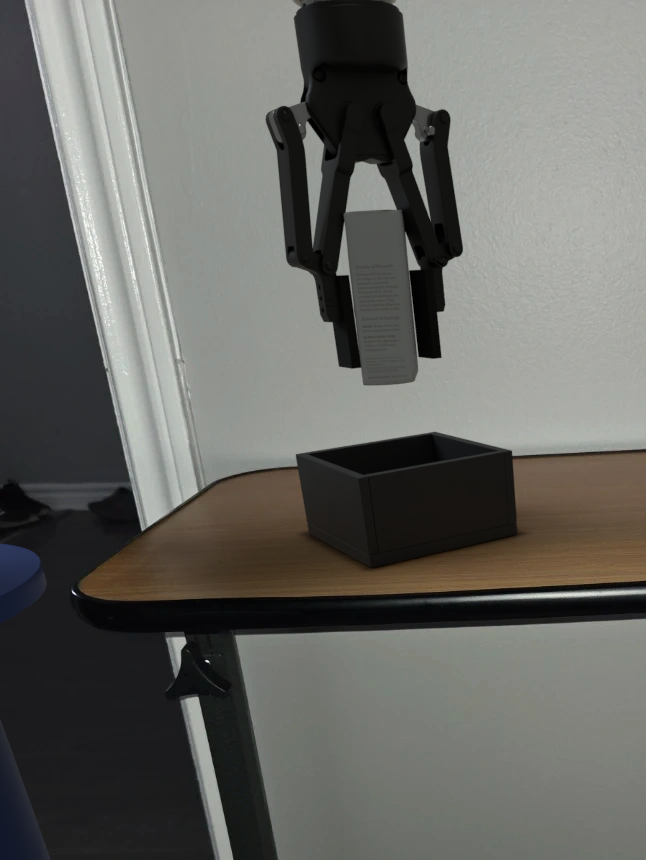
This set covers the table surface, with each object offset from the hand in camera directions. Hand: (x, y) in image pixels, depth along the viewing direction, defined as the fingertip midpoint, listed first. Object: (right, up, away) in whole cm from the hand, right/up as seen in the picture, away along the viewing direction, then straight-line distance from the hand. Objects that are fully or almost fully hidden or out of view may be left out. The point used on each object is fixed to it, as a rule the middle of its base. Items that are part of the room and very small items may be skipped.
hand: (390, 361), depth 74 cm
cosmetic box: (0, -1, +1) cm, 2 cm away
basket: (+1, -13, +6) cm, 14 cm away
